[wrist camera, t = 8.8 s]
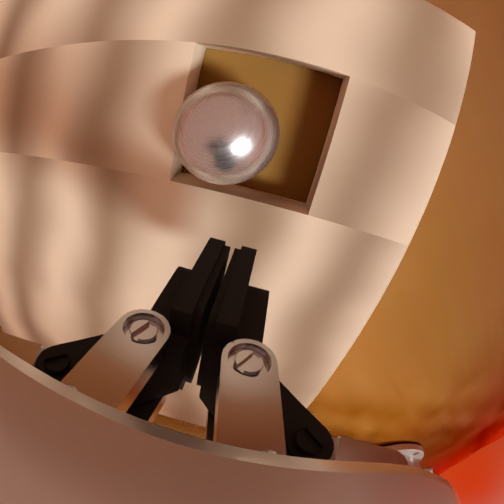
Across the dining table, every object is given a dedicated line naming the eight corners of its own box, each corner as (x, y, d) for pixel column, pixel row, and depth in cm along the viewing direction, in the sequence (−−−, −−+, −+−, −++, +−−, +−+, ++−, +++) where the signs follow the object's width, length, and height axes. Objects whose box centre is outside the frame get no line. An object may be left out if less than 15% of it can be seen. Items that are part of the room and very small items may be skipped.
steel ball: (289, 112, 12) (298, 82, 8) (262, 197, 13) (259, 200, 9) (204, 90, 12) (179, 56, 8) (177, 171, 13) (140, 166, 9)
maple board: (459, 35, 8) (475, 31, 7) (280, 428, 24) (279, 441, 23) (-12, 9, 8) (-26, 9, 6) (14, 333, 24) (7, 341, 22)
